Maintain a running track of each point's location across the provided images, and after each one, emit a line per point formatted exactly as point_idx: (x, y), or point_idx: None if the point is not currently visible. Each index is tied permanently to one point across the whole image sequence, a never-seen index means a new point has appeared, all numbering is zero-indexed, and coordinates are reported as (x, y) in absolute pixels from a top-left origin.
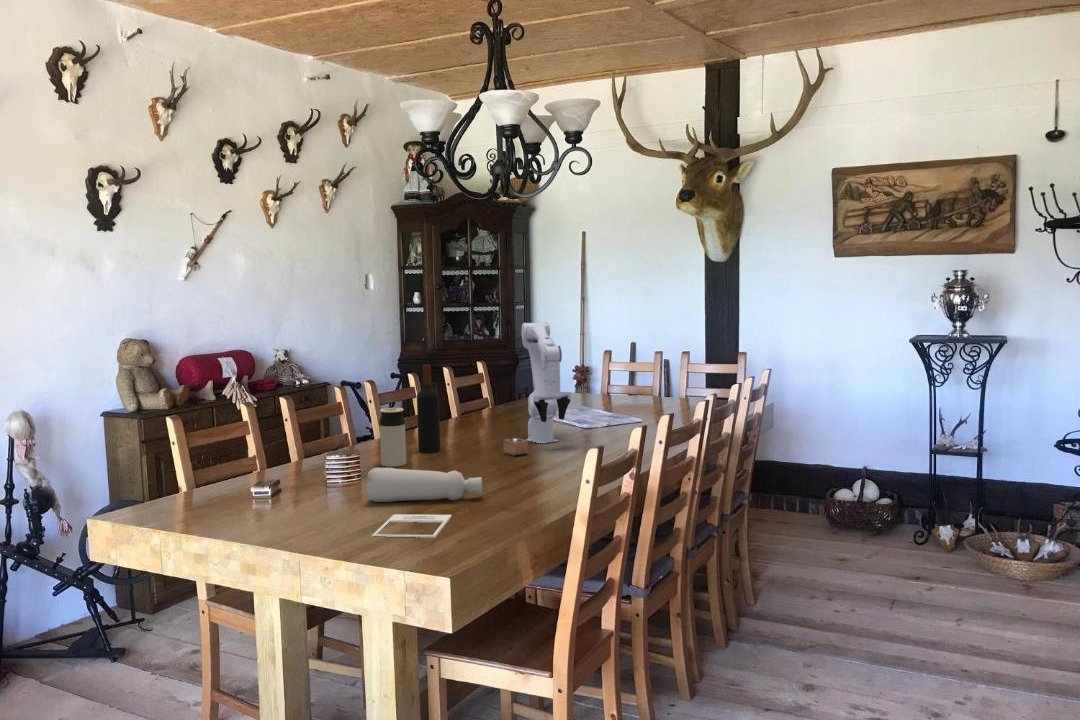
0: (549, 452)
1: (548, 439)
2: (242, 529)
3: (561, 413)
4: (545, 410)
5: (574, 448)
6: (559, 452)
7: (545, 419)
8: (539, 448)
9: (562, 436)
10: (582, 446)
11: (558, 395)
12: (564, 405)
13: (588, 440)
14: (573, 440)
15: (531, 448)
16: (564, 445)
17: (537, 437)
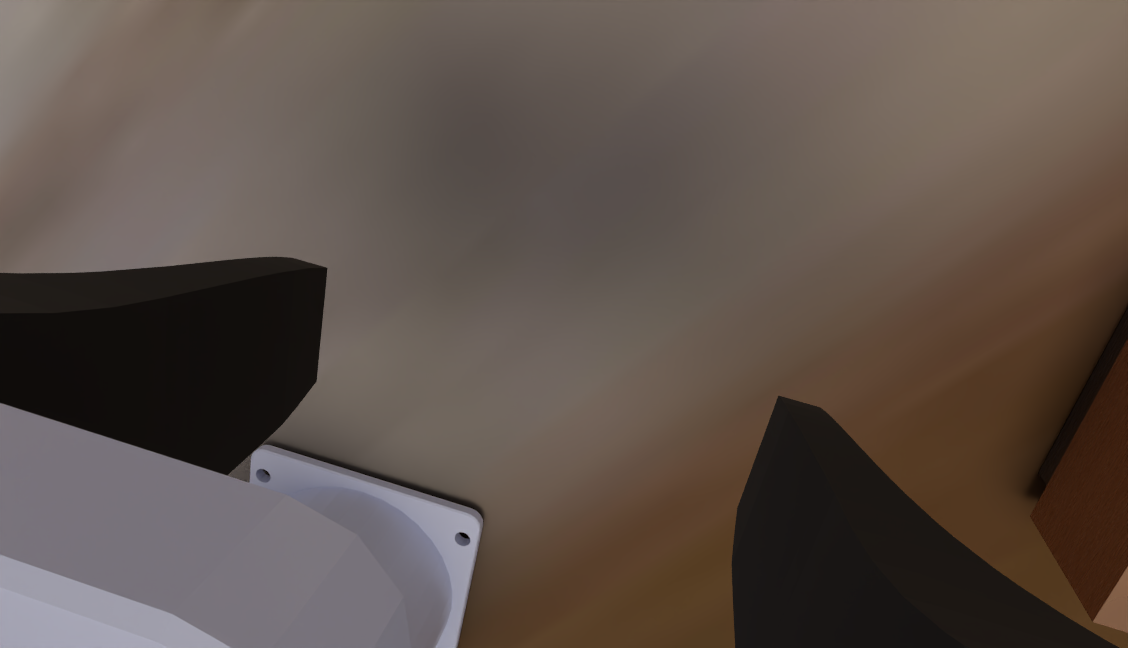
0: (837, 127)
1: (364, 508)
2: None
3: (241, 356)
4: (913, 539)
5: (428, 25)
6: (765, 5)
7: (823, 418)
8: (680, 396)
9: None
10: (272, 29)
11: (106, 555)
12: (45, 318)
13: (4, 216)
14: None
15: (731, 471)
16: (368, 261)
17: (436, 613)
